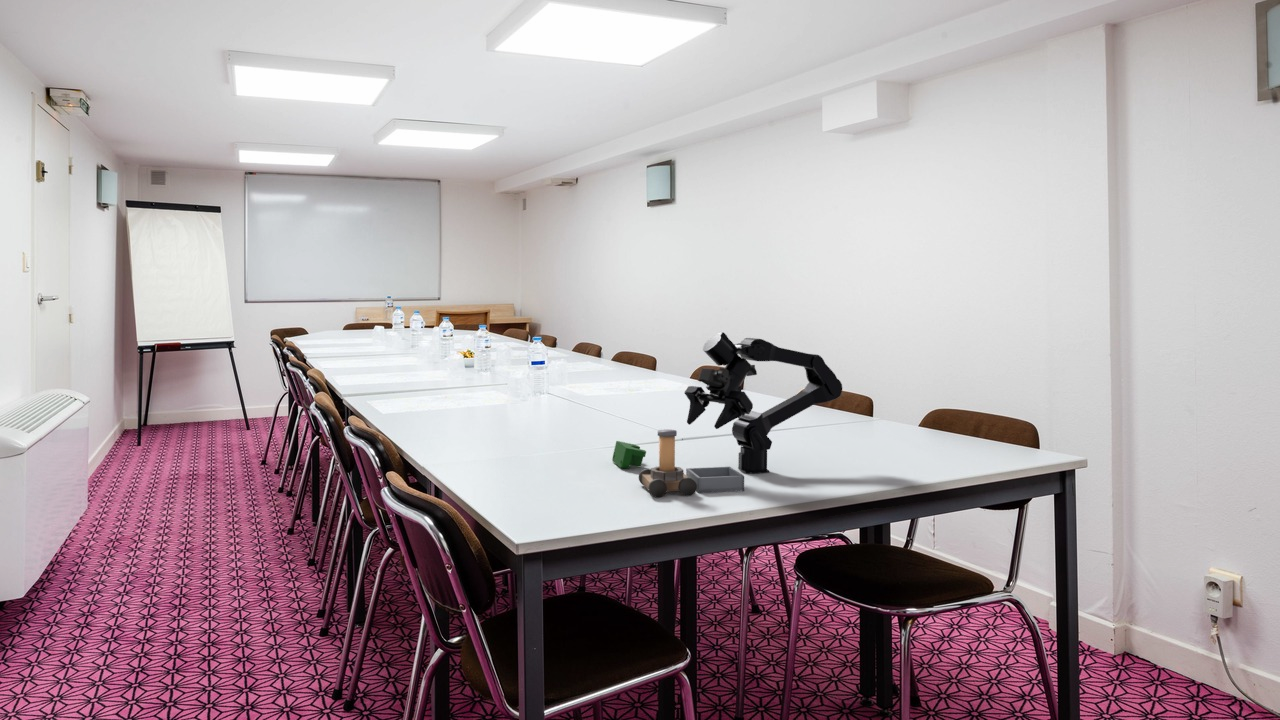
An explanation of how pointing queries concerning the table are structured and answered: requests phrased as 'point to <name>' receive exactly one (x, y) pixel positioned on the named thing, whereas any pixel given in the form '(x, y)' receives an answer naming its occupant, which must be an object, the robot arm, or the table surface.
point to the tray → (716, 479)
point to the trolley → (667, 481)
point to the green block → (627, 455)
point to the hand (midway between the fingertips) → (701, 425)
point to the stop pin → (667, 450)
